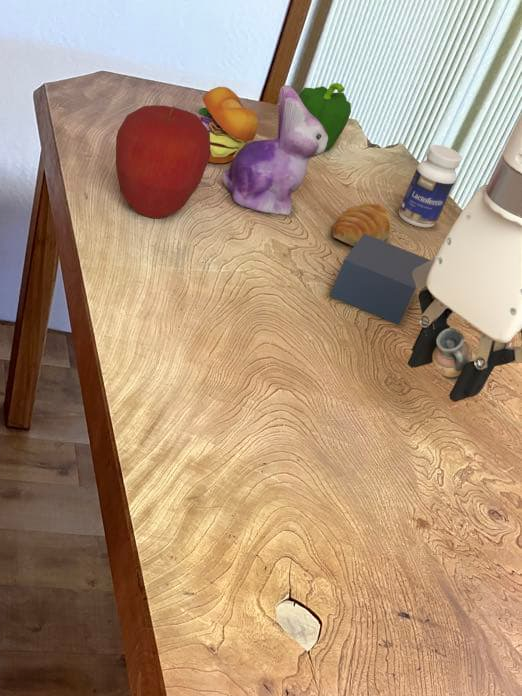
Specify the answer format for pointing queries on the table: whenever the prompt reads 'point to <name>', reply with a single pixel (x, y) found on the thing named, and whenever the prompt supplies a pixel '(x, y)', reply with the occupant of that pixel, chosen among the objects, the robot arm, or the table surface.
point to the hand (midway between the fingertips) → (440, 378)
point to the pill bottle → (430, 187)
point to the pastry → (363, 223)
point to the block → (378, 278)
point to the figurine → (277, 159)
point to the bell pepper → (328, 109)
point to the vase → (451, 354)
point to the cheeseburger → (226, 124)
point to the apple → (160, 158)
